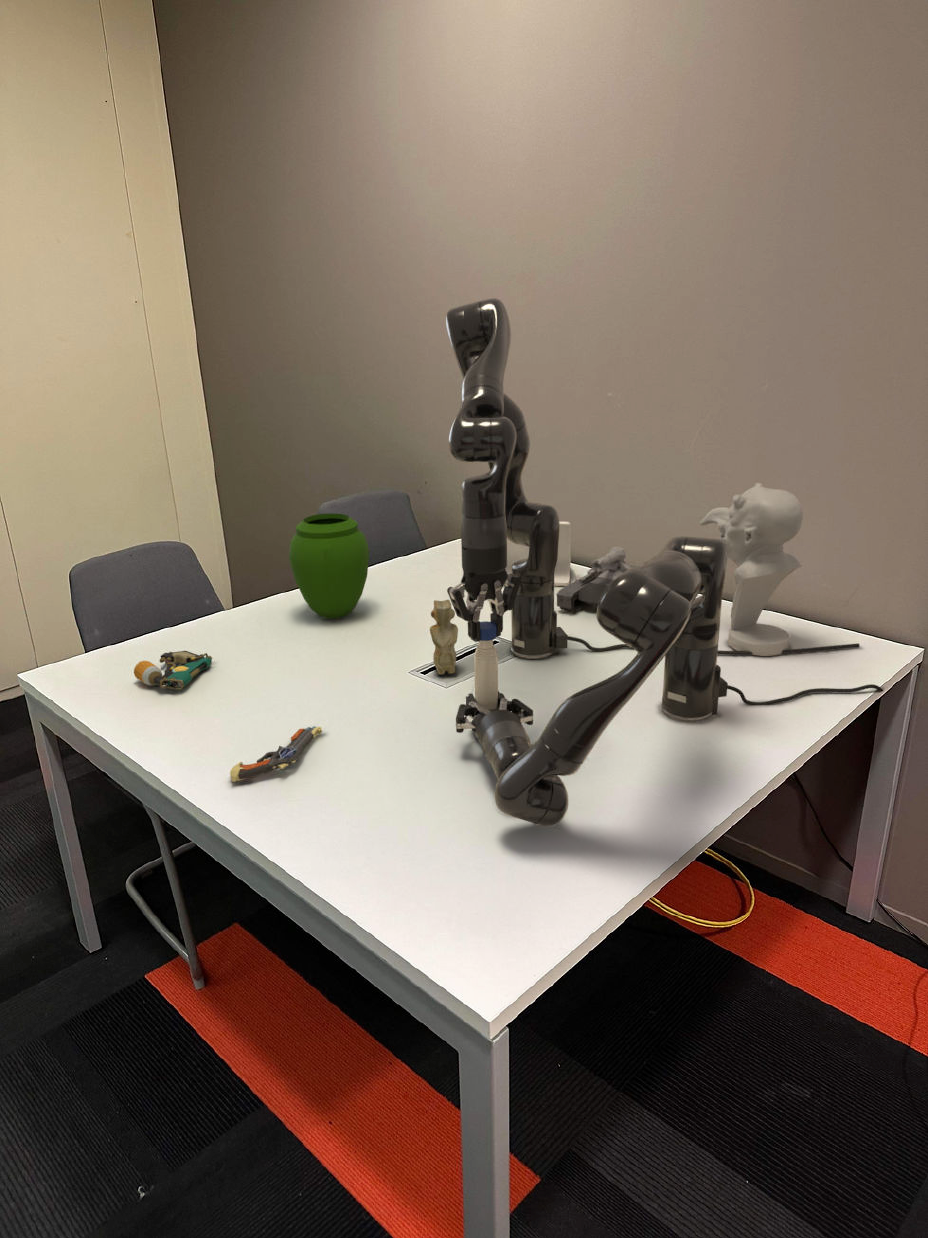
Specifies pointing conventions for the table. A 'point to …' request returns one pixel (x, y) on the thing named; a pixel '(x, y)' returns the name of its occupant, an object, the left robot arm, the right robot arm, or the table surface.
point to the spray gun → (172, 669)
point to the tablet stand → (563, 561)
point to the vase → (329, 563)
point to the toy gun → (277, 756)
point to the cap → (487, 631)
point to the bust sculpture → (758, 561)
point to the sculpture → (444, 637)
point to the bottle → (486, 675)
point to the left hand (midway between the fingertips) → (485, 637)
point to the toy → (593, 581)
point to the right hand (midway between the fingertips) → (483, 697)
